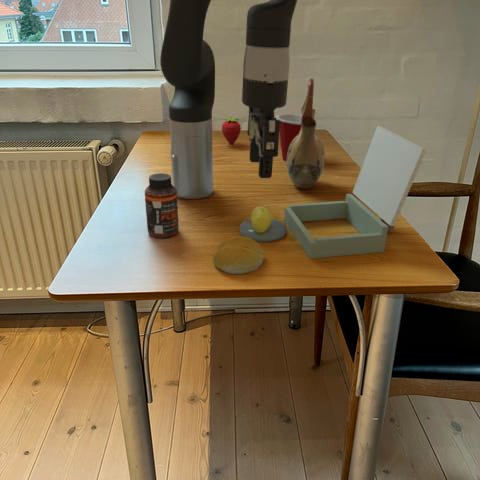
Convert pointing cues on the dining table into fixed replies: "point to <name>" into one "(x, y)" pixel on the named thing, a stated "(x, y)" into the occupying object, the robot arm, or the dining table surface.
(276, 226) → the saucer
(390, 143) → the lid
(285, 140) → the plastic cup
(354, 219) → the frame
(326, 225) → the dining table surface
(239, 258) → the bread roll
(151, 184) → the supplement bottle
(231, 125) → the strawberry
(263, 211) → the yellow oblong lump
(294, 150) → the ceramic vessel
